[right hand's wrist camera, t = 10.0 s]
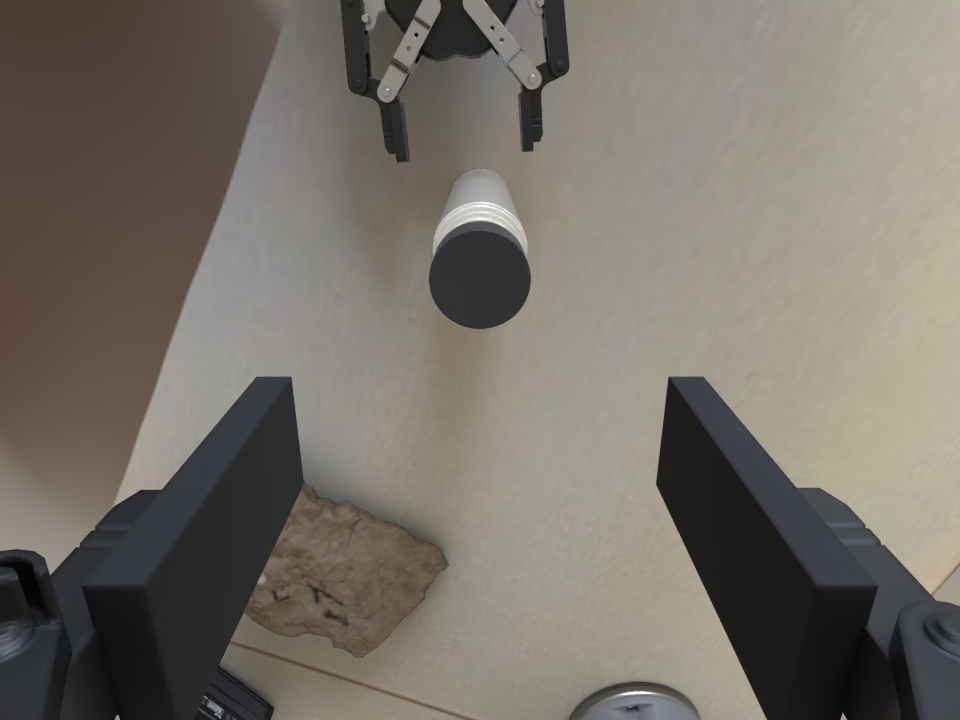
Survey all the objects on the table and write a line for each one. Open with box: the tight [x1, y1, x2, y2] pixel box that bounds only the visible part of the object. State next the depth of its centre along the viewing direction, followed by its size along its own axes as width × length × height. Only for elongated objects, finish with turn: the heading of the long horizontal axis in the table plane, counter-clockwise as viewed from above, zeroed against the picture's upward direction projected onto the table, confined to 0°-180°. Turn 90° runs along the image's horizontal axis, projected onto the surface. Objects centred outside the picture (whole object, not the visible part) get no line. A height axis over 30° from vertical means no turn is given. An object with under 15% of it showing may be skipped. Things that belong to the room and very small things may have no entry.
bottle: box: [432, 169, 528, 259], centre depth 39 cm, size 5×5×25 cm
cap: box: [429, 221, 531, 329], centre depth 28 cm, size 4×4×2 cm
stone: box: [244, 480, 449, 658], centre depth 60 cm, size 21×15×6 cm
